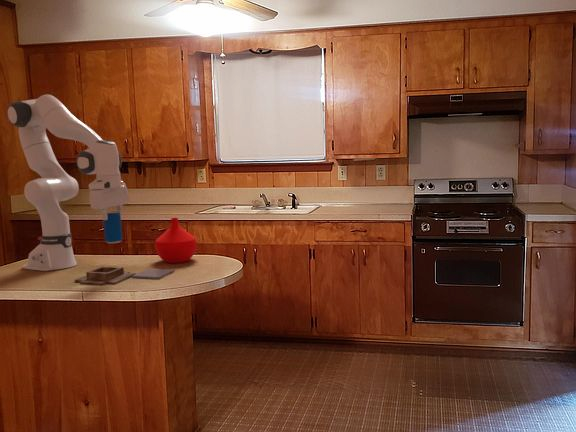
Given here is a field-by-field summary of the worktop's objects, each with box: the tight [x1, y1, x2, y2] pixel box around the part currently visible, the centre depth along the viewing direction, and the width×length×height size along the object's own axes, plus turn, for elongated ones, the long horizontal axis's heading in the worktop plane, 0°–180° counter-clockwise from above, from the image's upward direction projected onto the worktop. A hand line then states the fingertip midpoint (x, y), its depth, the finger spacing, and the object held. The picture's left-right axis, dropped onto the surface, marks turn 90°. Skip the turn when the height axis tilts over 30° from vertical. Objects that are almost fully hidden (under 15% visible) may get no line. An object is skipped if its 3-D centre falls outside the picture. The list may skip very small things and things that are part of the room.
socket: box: [74, 265, 137, 286], centre depth 222 cm, size 18×18×4 cm
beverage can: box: [102, 210, 123, 245], centre depth 219 cm, size 6×6×12 cm
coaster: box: [131, 268, 175, 280], centre depth 226 cm, size 12×12×1 cm
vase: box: [154, 217, 198, 264], centre depth 249 cm, size 18×18×19 cm
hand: (112, 218), depth 219 cm, fingers closed on beverage can, 6 cm apart
